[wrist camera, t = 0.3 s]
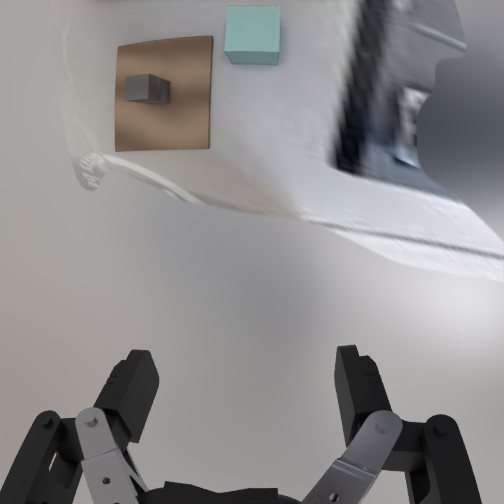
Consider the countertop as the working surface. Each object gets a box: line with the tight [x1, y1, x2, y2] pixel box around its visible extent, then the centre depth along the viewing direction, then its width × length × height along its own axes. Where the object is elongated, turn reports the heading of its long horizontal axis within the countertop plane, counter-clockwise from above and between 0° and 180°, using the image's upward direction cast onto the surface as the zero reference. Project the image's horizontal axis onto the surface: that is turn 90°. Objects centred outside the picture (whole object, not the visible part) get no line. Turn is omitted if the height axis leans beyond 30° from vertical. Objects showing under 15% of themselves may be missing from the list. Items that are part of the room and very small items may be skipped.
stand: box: [115, 36, 213, 152], centre depth 29 cm, size 14×12×8 cm
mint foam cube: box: [224, 6, 280, 65], centre depth 27 cm, size 5×5×7 cm
